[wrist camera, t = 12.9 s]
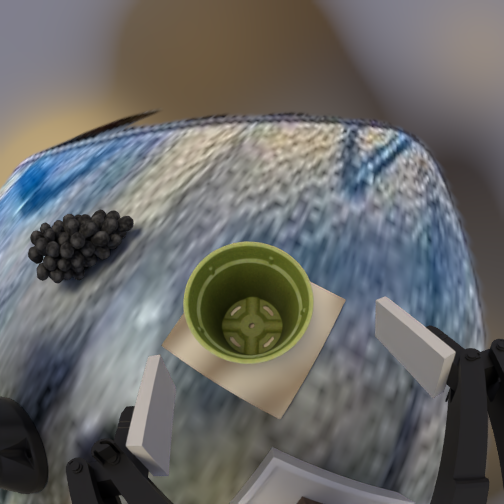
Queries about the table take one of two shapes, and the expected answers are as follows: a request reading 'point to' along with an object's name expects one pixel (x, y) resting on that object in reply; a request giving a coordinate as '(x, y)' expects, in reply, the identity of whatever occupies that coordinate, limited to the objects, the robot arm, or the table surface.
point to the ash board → (266, 373)
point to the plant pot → (248, 302)
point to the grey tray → (307, 485)
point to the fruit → (76, 243)
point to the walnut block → (307, 501)
